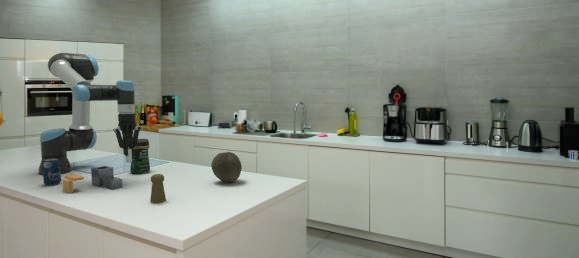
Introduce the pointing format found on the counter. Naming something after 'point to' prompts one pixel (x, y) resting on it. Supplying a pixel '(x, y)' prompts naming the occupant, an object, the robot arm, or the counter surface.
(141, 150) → the coffee jar
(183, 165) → the counter surface
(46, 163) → the soda can
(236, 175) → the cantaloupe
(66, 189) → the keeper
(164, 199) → the cork
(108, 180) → the link
